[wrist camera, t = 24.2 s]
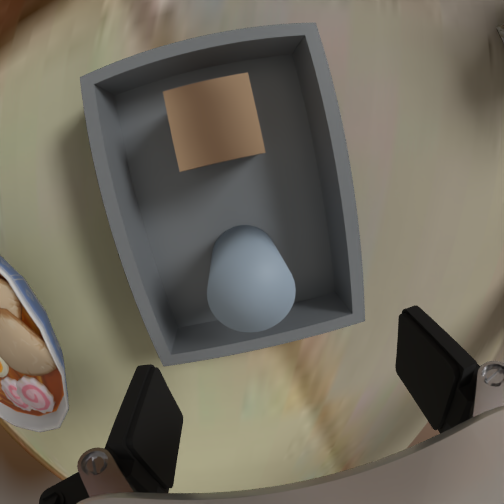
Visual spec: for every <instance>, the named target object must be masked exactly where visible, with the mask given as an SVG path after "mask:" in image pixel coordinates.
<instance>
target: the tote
mask: <svg viewBox="0 0 504 504" xmlns="http://www.w3.org/2000/svg"><path fill="white" fill-rule="evenodd" d="M247 72H248V75H249V80H250V84H251V88H252V93H253V97H254V102H255V106H256V110H257V115H258V120H259V124H260V129H261V133H262V138H263V143H264V148H265V152H266V153H262V154H258V155H254V156H249V157H244V158H239V159H235V160H230V161H225V162H221V163H217V164H212V165H208V166H204V167H200V168H196V169H192V170H187V171H182V172H180V171H179V166H178V162H177V158H176V153H175V149H174V144H173V139H172V135H171V130H170V125H169V120H168V115H167V110H166V105H165V100H164V95H163V91H167V90H170V89H174V88H178V87H181V86H185V85H189V84H193V83H197V82H202V81H206V80H210V79H215V78H220V77H225V76H230V75H236V74H241V73H247ZM80 83H81V91H82V99H83V106H84V113H85V119H86V125H87V131H88V137H89V142H90V147H91V152H92V157H93V162H94V166H95V171H96V175H97V179H98V183H99V187H100V191H101V195H102V199H103V203H104V207H105V210H106V214H107V218H108V221H109V224H110V228H111V231H112V235H113V238H114V241H115V244H116V247H117V250H118V254H119V257H120V260H121V263H122V266H123V268H124V271H125V274H126V277H127V280H128V283H129V285H130V288H131V291H132V293H133V296H134V299H135V301H136V304H137V306H138V309H139V311H140V314H141V316H142V319H143V321H144V324H145V326H146V328H147V331H148V333H149V336H150V338H151V340H152V342H153V345H154V347H155V349H156V351H157V354H158V356H159V358H160V360H161V362H162V364H163V366H170V365H177V364H183V363H190V362H196V361H202V360H208V359H213V358H219V357H224V356H229V355H234V354H239V353H244V352H249V351H253V350H258V349H263V348H267V347H271V346H276V345H280V344H284V343H288V342H292V341H296V340H300V339H304V338H308V337H312V336H315V335H319V334H323V333H326V332H330V331H333V330H337V329H340V328H344V327H347V326H350V325H354V324H357V323H360V322H363V321H365V307H364V285H363V270H362V257H361V245H360V235H359V225H358V217H357V209H356V201H355V194H354V187H353V180H352V173H351V167H350V161H349V156H348V150H347V145H346V139H345V134H344V129H343V124H342V120H341V115H340V110H339V106H338V102H337V97H336V93H335V89H334V85H333V81H332V77H331V73H330V70H329V66H328V62H327V59H326V55H325V52H324V48H323V45H322V42H321V38H320V35H319V32H318V29H317V26H316V23H293V24H279V25H268V26H259V27H251V28H244V29H237V30H231V31H225V32H220V33H214V34H209V35H205V36H200V37H196V38H191V39H187V40H183V41H179V42H176V43H172V44H168V45H165V46H161V47H158V48H155V49H151V50H148V51H145V52H142V53H139V54H136V55H133V56H131V57H128V58H125V59H122V60H120V61H117V62H114V63H112V64H109V65H107V66H104V67H102V68H100V69H97V70H95V71H93V72H90V73H88V74H86V75H84V76H82V77H80ZM239 225H251V226H255V227H257V228H260V229H261V230H263V231H264V232H266V233H267V234H268V235H269V236H270V238H271V239H272V241H273V243H274V244H275V246H276V248H277V250H278V251H279V253H280V255H281V257H282V258H283V260H284V262H285V264H286V265H287V267H288V269H289V271H290V272H291V274H292V276H293V279H294V282H295V289H296V293H295V300H294V303H293V306H292V308H291V310H290V311H289V313H288V314H287V315H286V317H285V318H284V319H283V320H282V321H280V322H279V323H278V324H276V325H275V326H273V327H271V328H269V329H266V330H263V331H259V332H250V333H249V332H240V331H236V330H233V329H231V328H228V327H227V326H225V325H223V324H222V323H221V322H220V321H219V320H218V319H217V318H216V317H215V316H214V314H213V313H212V311H211V309H210V307H209V304H208V300H207V287H208V280H209V273H210V266H211V259H212V252H213V247H214V245H215V243H216V241H217V239H218V238H219V236H220V235H221V234H222V233H224V232H225V231H226V230H228V229H230V228H232V227H235V226H239Z"/></svg>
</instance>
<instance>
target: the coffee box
mask: <svg viewBox="0 0 504 504" xmlns="http://www.w3.org/2000/svg"><path fill="white" fill-rule="evenodd" d="M496 28H497V30H498V32H499V34H500V36H501V38H502V40H503V42H504V25H501V26H498V27H496Z"/></svg>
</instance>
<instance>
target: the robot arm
mask: <svg viewBox="0 0 504 504" xmlns="http://www.w3.org/2000/svg"><path fill="white" fill-rule="evenodd" d="M396 372H397V374H398V376H399V377H400V379H401V380H402V382H403V383H404V385H405V386H406V388H407V389H408V391H409V392H410V394H411V395H412V397H413V398H414V400H415V401H416V403H417V404H418V406H419V407H420V409H421V411H422V412H423V414H424V415H425V417H426V418H427V420H428V421H429V423H430V424H431V426H432V427H433V429H434V430H437V429H438V431H439V432H440V434H439V435H437V436H435V437H432V438H430V439H428V440H426V441H424V442H421V443H419V444H417V445H415V446H412V447H410V448H408V449H405V450H403V451H400V452H398V453H395V454H393V455H390V456H388V457H385V458H382V459H379V460H377V461H374V462H371V463H368V464H365V465H362V466H358V467H355V468H352V469H349V470H345V471H342V472H338V473H335V474H331V475H327V476H323V477H319V478H315V479H310V480H306V481H301V482H296V483H291V484H285V485H279V486H273V487H266V488H259V489H251V490H242V491H231V492H216V493H168V492H169V488H172V487H173V483H174V476H175V469H176V462H177V456H178V449H179V443H180V437H181V431H182V425H183V415H182V413H181V411H180V409H179V407H178V405H177V403H176V402H175V400H174V398H173V396H172V394H171V392H170V390H169V388H168V386H167V384H166V382H165V380H164V378H163V376H162V374H161V372H160V370H159V369H158V368H155V367H154V366H153V365H151V364H150V365H141V366H138V367H137V368H136V371H135V373H134V376H133V378H132V380H131V383H130V385H129V388H128V390H127V392H126V395H125V397H124V400H123V402H122V405H121V407H120V410H119V412H118V415H117V417H116V420H115V422H114V425H113V428H112V430H111V433H110V435H109V438H108V441H107V443H106V446H105V449H104V448H93V449H90V450H88V451H86V452H85V453H83V455H82V456H81V457H80V459H79V461H78V465H77V467H78V472H77V473H76V474H74V475H72V476H70V477H68V478H67V479H65V480H63V481H61V482H59V483H57V484H56V485H54V486H52V487H50V488H48V489H47V490H45V491H44V492H43V493H42V495H41V497H40V500H39V504H504V363H502V362H499V361H489V362H486V363H484V364H483V365H482V366H481V367H480V366H479V365H478V364H477V362H476V361H475V360H474V359H473V358H472V357H471V356H470V355H469V354H468V353H467V352H466V351H465V350H464V349H463V348H462V347H461V346H460V345H459V344H458V343H457V342H456V341H455V340H454V339H453V338H452V337H451V336H450V335H449V334H448V333H447V332H445V331H444V330H443V329H442V328H441V327H440V326H439V325H438V324H437V323H436V322H435V321H434V320H433V319H432V318H430V317H429V316H428V315H427V314H426V313H425V312H424V311H423V310H422V309H421V308H419V307H418V306H412V307H409V308H407V309H404V310H403V311H402V314H400V315H399V324H398V342H397V356H396Z"/></svg>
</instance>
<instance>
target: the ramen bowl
mask: <svg viewBox="0 0 504 504" xmlns="http://www.w3.org/2000/svg"><path fill="white" fill-rule="evenodd" d="M68 410H69V403H68V392H67V384H66V376H65V367H64V360H63V354H62V350H61V347H60V345H59V342H58V340H57V337H56V335H55V333H54V330H53V328H52V326H51V323H50V321H49V318H48V316H47V313H46V310H45V309H44V307H43V306H42V304H41V303H40V301H39V300H38V298H37V297H36V295H35V294H34V292H33V291H32V289H31V288H30V286H29V284H28V283H27V281H26V280H25V278H24V277H23V276H21V275H20V274H19V273H18V272H17V271H16V270H15V269H14V268H13V267H12V266H11V265H10V264H9V263H8V262H7V261H6V260H5V259H4V258H3V257H2V256H1V255H0V417H1V418H2V419H4V420H6V421H7V422H9V423H11V424H12V425H14V426H17V427H20V428H24V429H28V430H32V431H36V432H44V431H48V430H53V429H57V428H60V426H61V424H62V422H63V420H64V418H65V416H66V414H67V412H68Z"/></svg>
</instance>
